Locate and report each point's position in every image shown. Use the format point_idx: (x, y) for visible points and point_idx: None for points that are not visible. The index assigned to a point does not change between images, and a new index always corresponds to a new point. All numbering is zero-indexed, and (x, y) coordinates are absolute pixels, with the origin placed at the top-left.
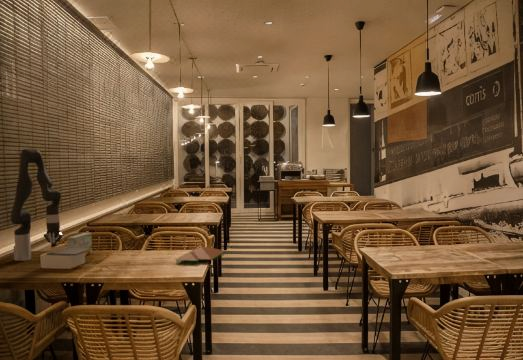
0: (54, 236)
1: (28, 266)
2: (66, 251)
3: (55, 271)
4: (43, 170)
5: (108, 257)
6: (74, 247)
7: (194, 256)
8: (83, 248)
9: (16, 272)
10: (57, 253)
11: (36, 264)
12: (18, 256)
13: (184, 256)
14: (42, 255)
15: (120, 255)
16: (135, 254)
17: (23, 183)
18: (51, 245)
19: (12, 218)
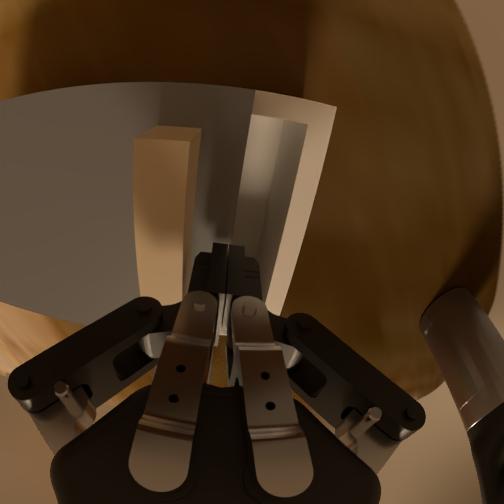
0: (149, 395)
1: (409, 165)
2: (63, 206)
3: (127, 4)
4: None
5: (54, 333)
6: (154, 372)
7: None
8: (34, 311)
9: (414, 10)
10: (93, 93)
11: (376, 215)
12: (472, 301)
13: None
14: (307, 100)
15: (43, 351)
16: (16, 351)
17: None
18: (257, 283)
19: None
